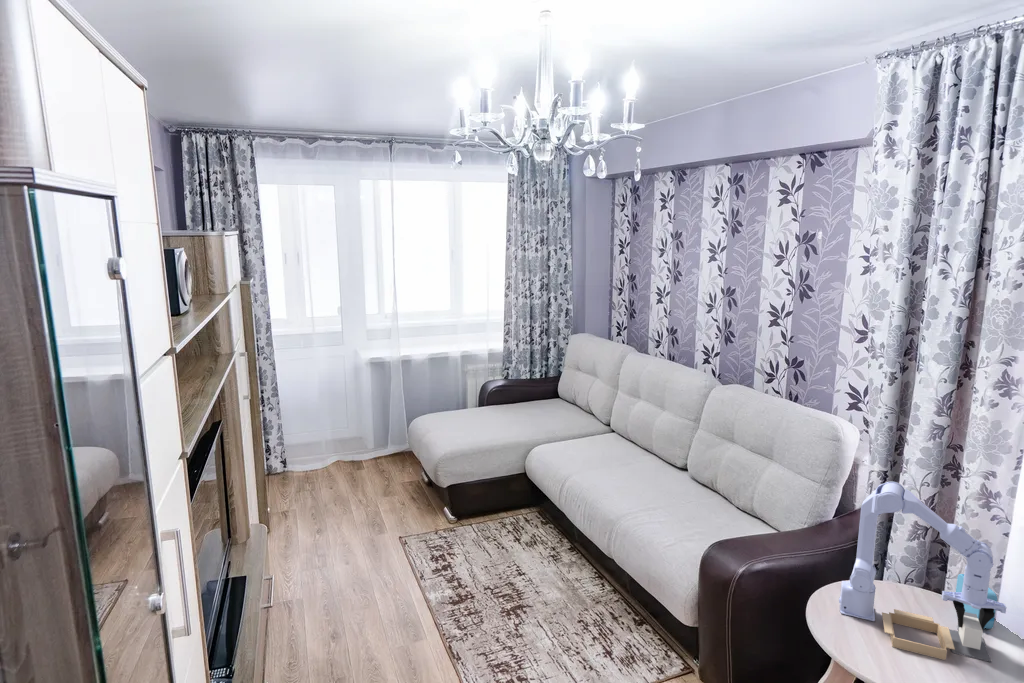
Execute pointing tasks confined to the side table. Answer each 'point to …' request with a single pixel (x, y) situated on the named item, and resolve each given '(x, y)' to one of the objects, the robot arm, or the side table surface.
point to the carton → (918, 623)
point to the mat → (969, 648)
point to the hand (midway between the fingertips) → (969, 627)
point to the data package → (969, 609)
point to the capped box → (970, 631)
